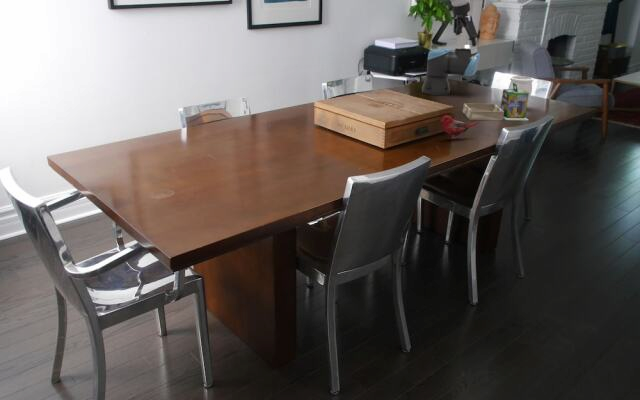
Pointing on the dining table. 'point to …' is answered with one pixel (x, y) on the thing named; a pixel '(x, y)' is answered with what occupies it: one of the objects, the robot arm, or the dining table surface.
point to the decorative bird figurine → (454, 126)
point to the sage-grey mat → (516, 118)
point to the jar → (522, 83)
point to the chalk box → (514, 102)
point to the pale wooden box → (483, 112)
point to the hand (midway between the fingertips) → (467, 50)
